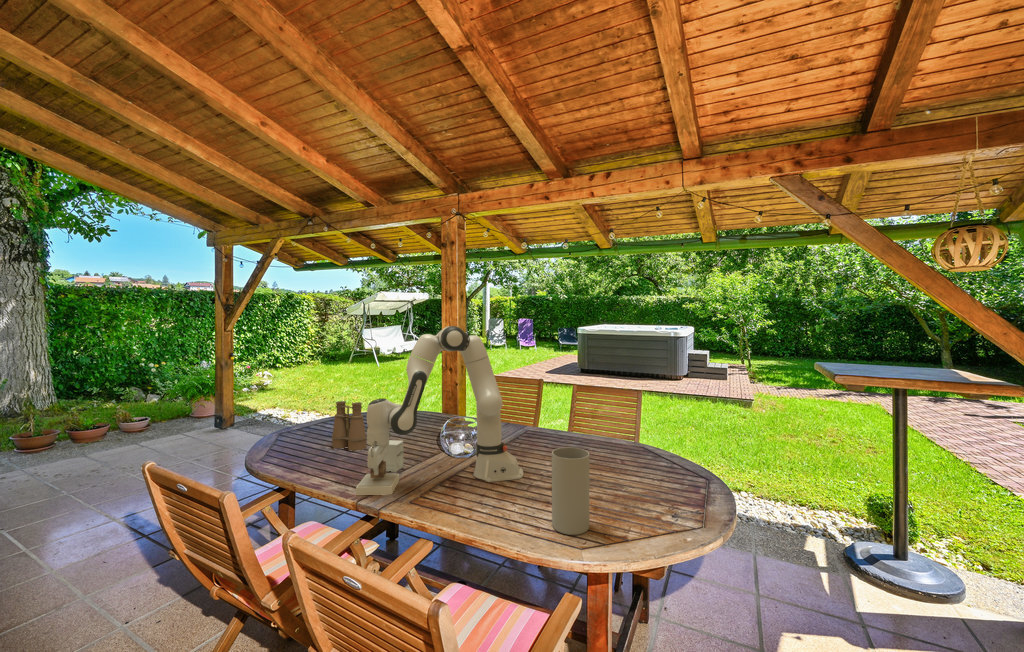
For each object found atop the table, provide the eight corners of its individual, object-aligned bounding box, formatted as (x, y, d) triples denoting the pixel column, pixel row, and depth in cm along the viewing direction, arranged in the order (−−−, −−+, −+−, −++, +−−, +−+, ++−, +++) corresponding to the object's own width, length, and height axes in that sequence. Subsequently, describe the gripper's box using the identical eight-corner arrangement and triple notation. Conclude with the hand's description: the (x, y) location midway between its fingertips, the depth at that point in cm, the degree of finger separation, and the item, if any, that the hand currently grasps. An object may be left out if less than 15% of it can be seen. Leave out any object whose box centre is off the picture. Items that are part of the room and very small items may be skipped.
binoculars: (327, 449, 228) (326, 403, 228) (340, 443, 238) (340, 399, 237) (358, 453, 221) (358, 405, 221) (370, 447, 231) (370, 402, 230)
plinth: (399, 481, 182) (399, 472, 182) (391, 495, 168) (391, 485, 168) (366, 482, 181) (366, 473, 181) (356, 496, 167) (355, 486, 167)
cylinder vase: (555, 515, 150) (555, 446, 149) (591, 520, 146) (591, 449, 146) (548, 533, 138) (548, 457, 137) (587, 538, 134) (587, 460, 134)
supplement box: (396, 472, 193) (396, 445, 193) (381, 471, 195) (381, 444, 194) (404, 466, 200) (403, 440, 200) (389, 465, 202) (389, 439, 202)
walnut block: (386, 473, 177) (385, 461, 177) (383, 477, 172) (382, 465, 172) (373, 473, 177) (373, 461, 177) (370, 478, 172) (370, 465, 172)
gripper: (379, 445, 164) (380, 481, 164) (391, 431, 184) (391, 463, 185) (363, 446, 164) (363, 481, 164) (376, 432, 184) (377, 463, 184)
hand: (378, 471), depth 174 cm, fingers closed on walnut block, 5 cm apart
